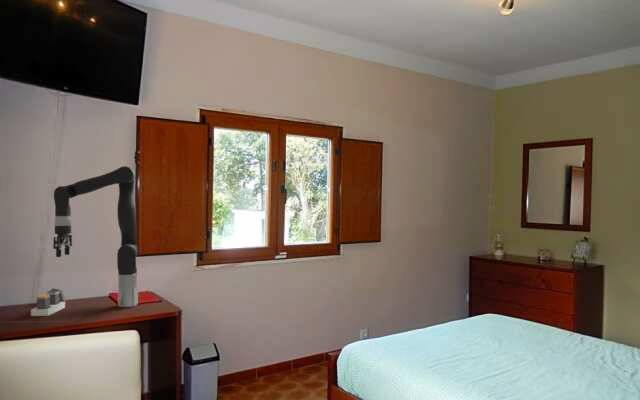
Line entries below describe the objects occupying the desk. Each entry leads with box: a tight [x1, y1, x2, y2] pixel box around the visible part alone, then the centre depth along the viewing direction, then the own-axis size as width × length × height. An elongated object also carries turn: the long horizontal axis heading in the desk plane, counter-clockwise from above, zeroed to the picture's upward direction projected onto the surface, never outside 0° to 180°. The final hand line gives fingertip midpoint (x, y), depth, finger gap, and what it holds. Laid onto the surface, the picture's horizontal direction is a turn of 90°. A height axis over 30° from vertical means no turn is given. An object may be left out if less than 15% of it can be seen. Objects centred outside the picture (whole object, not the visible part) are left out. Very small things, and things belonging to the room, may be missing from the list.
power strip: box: [30, 302, 66, 317], centre depth 225 cm, size 8×16×4 cm, turn 3°
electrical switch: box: [46, 287, 67, 305], centre depth 243 cm, size 9×5×9 cm, turn 57°
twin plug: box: [46, 290, 60, 305], centre depth 230 cm, size 4×4×9 cm
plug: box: [36, 294, 50, 309], centre depth 221 cm, size 4×4×9 cm
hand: (63, 255), depth 233 cm, fingers open, 8 cm apart
